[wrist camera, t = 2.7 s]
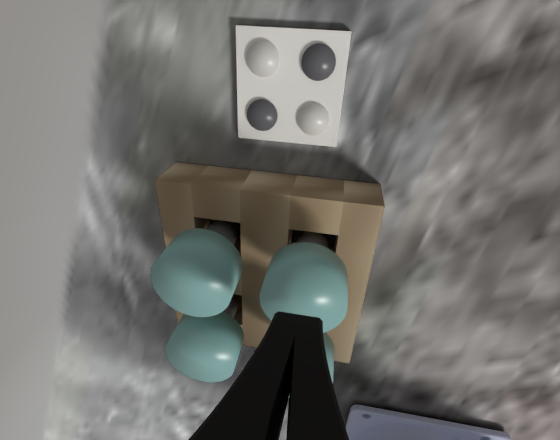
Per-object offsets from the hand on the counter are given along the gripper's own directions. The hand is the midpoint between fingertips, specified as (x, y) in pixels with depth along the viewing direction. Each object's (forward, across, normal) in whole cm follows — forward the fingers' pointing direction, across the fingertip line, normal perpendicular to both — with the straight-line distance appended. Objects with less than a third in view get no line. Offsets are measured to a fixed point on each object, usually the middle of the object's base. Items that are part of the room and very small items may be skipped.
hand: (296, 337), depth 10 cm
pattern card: (+6, +2, -6) cm, 9 cm away
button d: (+5, +4, 0) cm, 6 cm away
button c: (+5, 0, 0) cm, 5 cm away
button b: (+5, +4, +4) cm, 8 cm away
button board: (+6, +2, +2) cm, 7 cm away
